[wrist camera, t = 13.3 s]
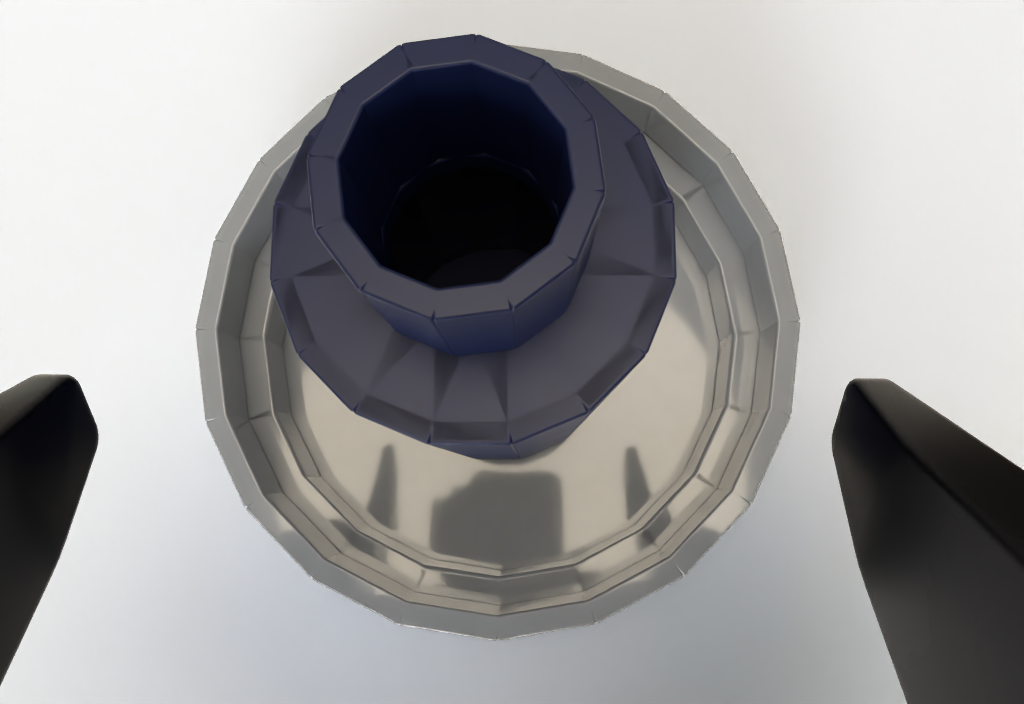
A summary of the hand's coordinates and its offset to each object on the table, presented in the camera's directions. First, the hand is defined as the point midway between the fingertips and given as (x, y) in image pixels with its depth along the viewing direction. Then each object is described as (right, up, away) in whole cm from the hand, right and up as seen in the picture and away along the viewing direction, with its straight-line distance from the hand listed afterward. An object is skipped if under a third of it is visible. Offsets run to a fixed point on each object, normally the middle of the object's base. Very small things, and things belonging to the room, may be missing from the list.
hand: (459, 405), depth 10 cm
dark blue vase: (0, +1, +11) cm, 11 cm away
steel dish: (0, +1, +11) cm, 11 cm away
